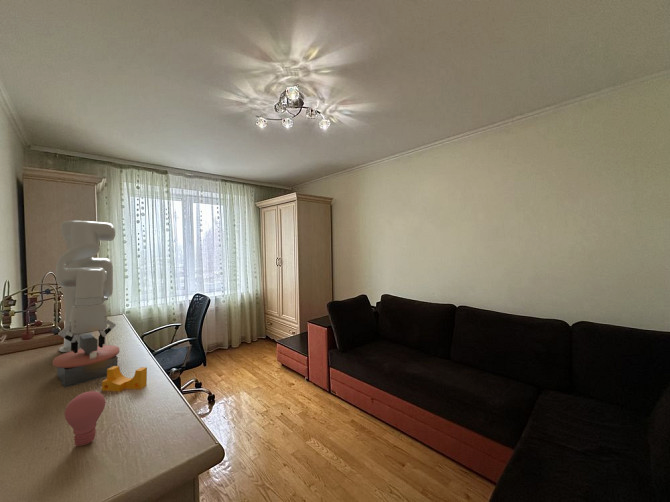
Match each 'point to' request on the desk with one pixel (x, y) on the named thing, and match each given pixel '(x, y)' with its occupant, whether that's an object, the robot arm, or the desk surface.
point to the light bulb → (85, 415)
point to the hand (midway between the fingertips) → (88, 349)
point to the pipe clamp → (124, 380)
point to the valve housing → (85, 372)
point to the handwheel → (86, 354)
